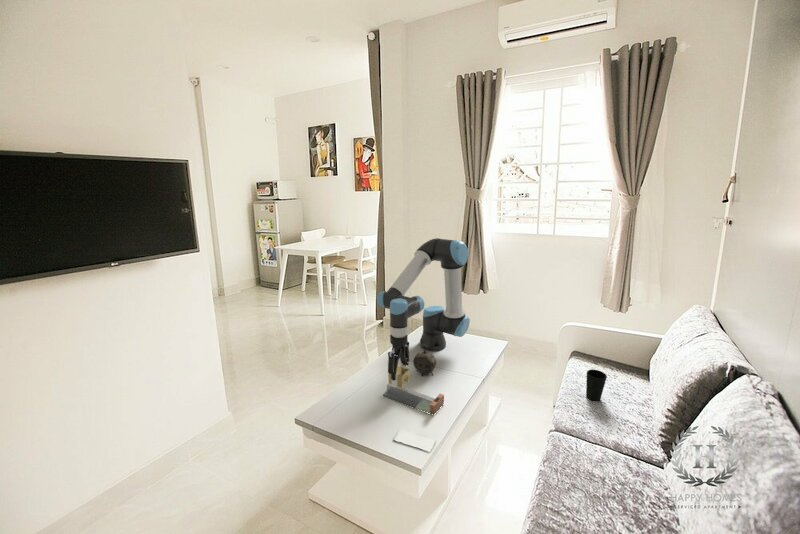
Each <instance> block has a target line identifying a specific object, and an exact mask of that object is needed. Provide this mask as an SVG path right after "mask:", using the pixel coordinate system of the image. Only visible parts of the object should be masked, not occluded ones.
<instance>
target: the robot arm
mask: <svg viewBox="0 0 800 534" xmlns="http://www.w3.org/2000/svg"><path fill="white" fill-rule="evenodd" d="M413 254H414V257H413V258H412V259H411V260H410V262H409V263H408V264H407V265H406V266H405V268H404V269H403V270H402V272H401V273H400V274H399V276H398V277H397V278H396V279H395V281H393V283H392V285H391V286H390V287H389V288H388V290H385V291H384V290H382V291H380V292H379V293H378V294H377V298H376V303H377V305H378V307H381V308H383V309H388V310H389V330H390V334H389V338H390V339H389V342H390V344H391V345H392V347H391V351H388V352H387V356H388V362H387V366H388V367H387V373H388V374H389V373H390V374H391V379H392V385H393V386H396V387H397V386H398V373H397V366H401V367H404V368H407V366H409V365H410V364H409V362H410V341H408V334H409V333H408V332H409V331H408V330H409V329H408V328H409V327H408V326H409V325H408V323H409V322H408V319H410V318H411V317H413V316H415V315H417V314H420V312H422V311H423V312H422V333H421V337H420V339H419V346H420V347H421V346H422V345H424V346H422V348H421V349H423V350H427V347H428V350H427V351H428V352H430V351H431V352H438V351H442V350H444V349H445V348H446V346H447V341H446V338H445V335H444V334H446V335H447V334H448V335H451V336H454V337H458V338H461V337H462V338H463V337H464V336H465V335H466V334H467V331H468V329H469V327H470V322H471V320H470V318H469V317H468V316H466V311H465V310H464V309H463V295H462V289H463V288H462V268H464V267H465V264H466V263H467V262H468V258H469V250H468V247H467V245H466V243H465V242H463V241H460V240H457V239H454V240H453V239H446V238H445V239H444V238H432V239H429V240H427V241H426V242H424V243H423V244H422V245H420V246H419V247H418V248H417V249H416V251H415V252H414V253H413ZM435 261H436V262H440V268H441V269H443V271H444V272H443V273H444V274H443V275H444V278H443V279H444V290H445V291H444V294H445V308H444V307H443V306H441V305H431V306H427V307H425V301H424V299H423V298H422V297H421V296H419V295H415V296H412V297H411V296H410V297H409V296H405V294H406V293H407V292H408V290H410V288H411V286H412V285H413V284H414V283H415V281H416V280H417V279H418V277H419V276H420V275H421V273H422V272H423V270H424V269H425V268H426V267H427V266H429V265H430V264H431V263H432V262H435ZM425 345H426V346H427V347H426V346H425ZM399 359H400V360H399ZM399 361H400V365H399Z"/></svg>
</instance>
